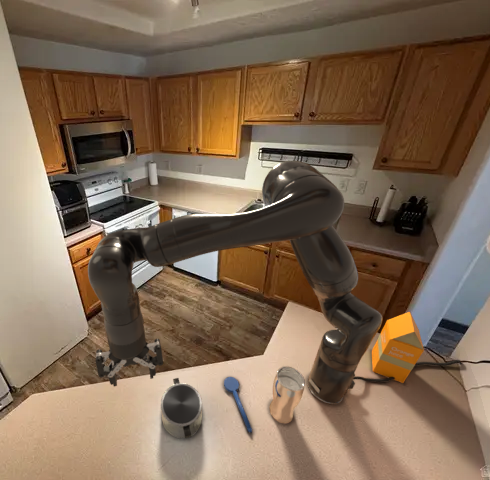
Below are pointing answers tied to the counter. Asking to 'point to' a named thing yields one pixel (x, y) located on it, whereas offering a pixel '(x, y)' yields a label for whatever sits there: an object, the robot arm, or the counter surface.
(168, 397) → the steel pot
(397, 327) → the orange juice
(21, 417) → the counter surface
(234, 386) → the blue spoon
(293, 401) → the beer glass
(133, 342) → the robot arm
